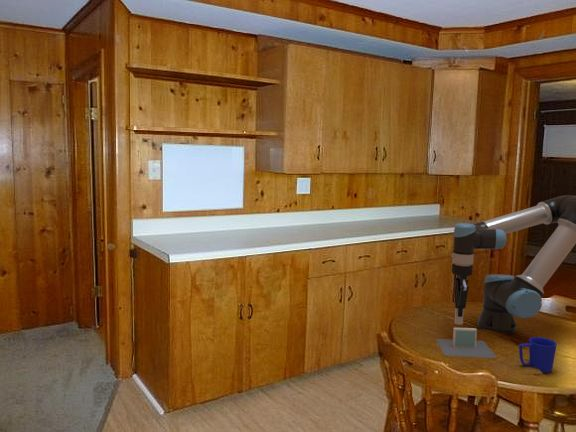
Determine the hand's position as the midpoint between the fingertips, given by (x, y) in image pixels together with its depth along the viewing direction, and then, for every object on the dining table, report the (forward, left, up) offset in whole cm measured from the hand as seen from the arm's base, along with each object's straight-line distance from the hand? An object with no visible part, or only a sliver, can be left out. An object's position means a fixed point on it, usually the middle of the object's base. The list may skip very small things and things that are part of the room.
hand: (458, 323), depth 187 cm
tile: (0, +8, -6) cm, 10 cm away
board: (0, +9, -8) cm, 12 cm away
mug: (-20, +22, -8) cm, 31 cm away
